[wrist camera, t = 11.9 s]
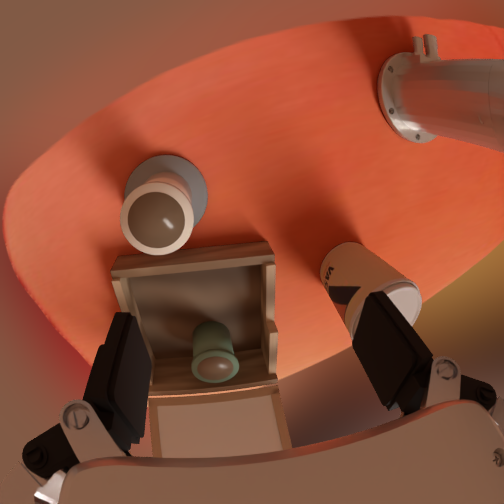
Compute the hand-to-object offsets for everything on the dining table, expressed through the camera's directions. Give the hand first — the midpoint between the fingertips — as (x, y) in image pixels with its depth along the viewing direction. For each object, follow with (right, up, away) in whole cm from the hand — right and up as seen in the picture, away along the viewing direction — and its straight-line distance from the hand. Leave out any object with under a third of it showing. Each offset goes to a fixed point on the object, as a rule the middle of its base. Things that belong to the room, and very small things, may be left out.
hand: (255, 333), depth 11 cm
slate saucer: (-9, +9, +18) cm, 22 cm away
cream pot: (-9, +9, +17) cm, 21 cm away
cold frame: (-7, -4, +25) cm, 26 cm away
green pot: (-6, -8, +26) cm, 28 cm away
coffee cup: (+13, +1, +26) cm, 29 cm away
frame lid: (-4, -23, +17) cm, 28 cm away
